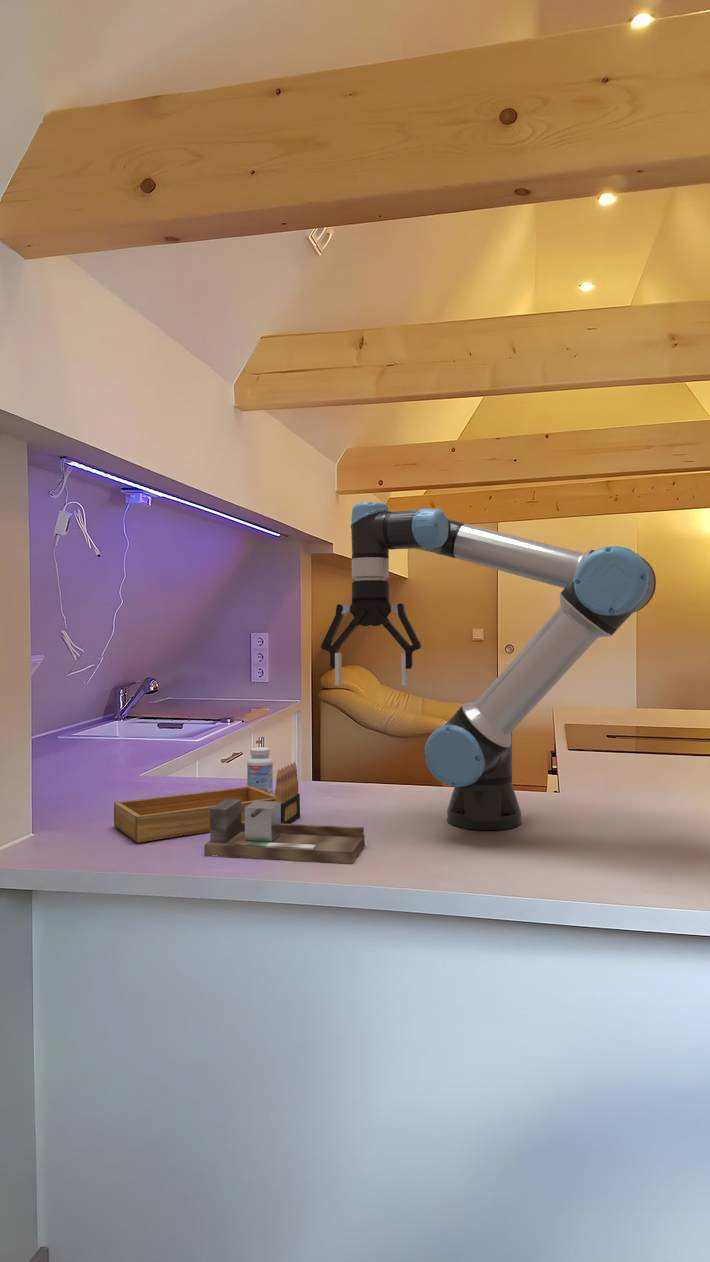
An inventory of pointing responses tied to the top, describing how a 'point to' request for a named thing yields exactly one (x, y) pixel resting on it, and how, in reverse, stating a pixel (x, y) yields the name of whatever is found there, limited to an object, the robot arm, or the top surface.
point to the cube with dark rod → (262, 821)
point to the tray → (178, 812)
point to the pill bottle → (260, 769)
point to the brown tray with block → (282, 839)
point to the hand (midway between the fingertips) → (371, 685)
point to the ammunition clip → (288, 793)
